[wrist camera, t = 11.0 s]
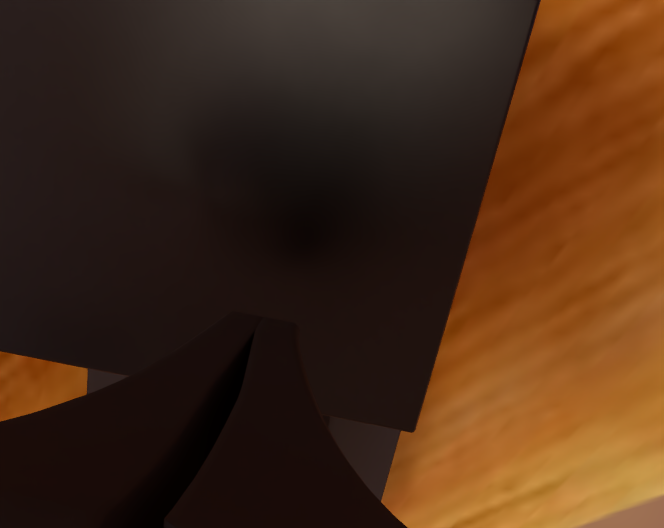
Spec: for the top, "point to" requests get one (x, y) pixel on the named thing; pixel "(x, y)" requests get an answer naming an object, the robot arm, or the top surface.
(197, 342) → the robot arm
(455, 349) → the top surface
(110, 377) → the switch block
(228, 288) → the box lid
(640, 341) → the top surface
